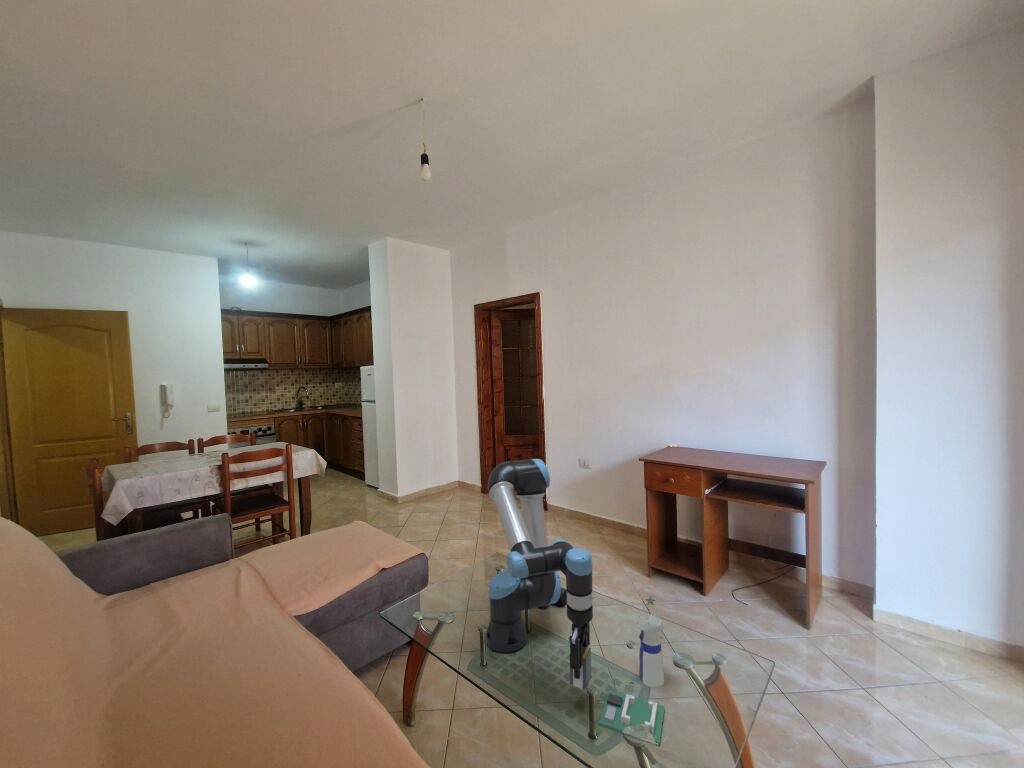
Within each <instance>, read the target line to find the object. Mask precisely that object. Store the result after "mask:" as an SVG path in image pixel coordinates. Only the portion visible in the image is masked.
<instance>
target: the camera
mask: <svg viewBox="0 0 1024 768" xmlns="http://www.w3.org/2000/svg"><path fill="white" fill-rule="evenodd" d="M560 582H561V579H560ZM553 605H559V606H566V605H567V602H566V588H564V587H562V586H561V593H560V597H559V599H558V601H557V602H556V603H554V604H553ZM549 606H550V605H548V606H541V607H537V609H539V610H545V609H546V608H547V607H549Z"/></svg>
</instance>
